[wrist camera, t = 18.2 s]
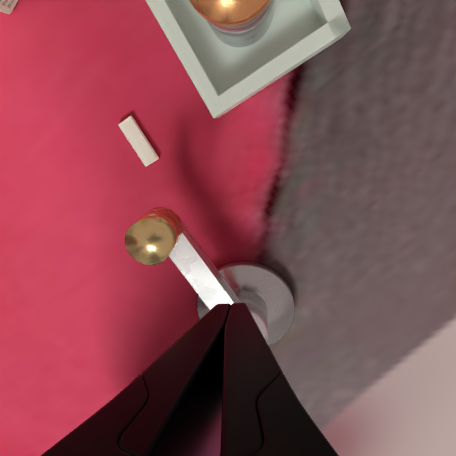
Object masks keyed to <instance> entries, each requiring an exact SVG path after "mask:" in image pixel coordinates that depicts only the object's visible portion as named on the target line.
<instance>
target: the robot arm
mask: <svg viewBox="0 0 456 456" xmlns="http://www.w3.org/2000/svg"><path fill="white" fill-rule="evenodd" d="M220 450H221V454H220ZM41 456H339V455H338V454H337V453H336V452H335V450H334V449H333V447H332V446H331V445H330V443H329V442H328V441H327V439H326V438H325V437H324V435H323V434H322V433H321V431H320V430H319V428H318V427H317V426H316V424H315V423H314V422H313V420H312V419H311V418H310V416H309V415H308V413H307V412H306V410H305V409H304V407H303V406H302V405H301V403H300V402H299V400H298V398H297V397H296V395H295V393H294V392H293V390H292V388H291V386H290V385H289V383H288V381H287V379H286V377H285V375H284V374H283V372H282V370H281V368H280V366H279V365H278V363H277V361H276V359H275V357H274V355H273V353H272V352H271V350H270V348H269V346H268V344H267V342H266V340H265V338H264V337H263V335H262V333H261V331H260V329H259V327H258V325H257V324H256V322H255V320H254V318H253V316H252V314H251V312H250V310H249V309H248V307H247V305H246V304H245V303H232V304H230V303H221V304H216V305H215V306H214V307H213V308H212V309H211V310H210V311H209V312H208V313H207V314H205V315H204V316H203V317H202V318H201V319H200V320H199V321H198V322H197V323H196V324H195V325H193V326H192V327H191V328H190V329H189V330H188V331H187V332H186V333H185V334H184V335H183V336H182V337H180V338H179V339H178V340H177V341H176V342H175V343H174V344H173V345H172V346H171V347H170V348H168V349H167V350H166V351H165V352H164V353H163V354H162V355H161V356H160V357H159V358H158V359H157V360H155V361H154V362H153V363H152V364H151V365H150V366H149V367H148V368H147V369H146V370H145V371H143V372H142V375H139V376H138V377H137V378H136V379H135V380H134V381H132V382H131V383H130V384H129V385H128V386H127V387H126V388H125V389H123V390H122V391H121V392H120V393H119V394H118V395H117V396H116V397H114V398H113V399H112V400H111V401H110V402H108V403H107V404H106V405H105V406H103V407H102V408H101V409H100V410H98V411H97V412H96V413H95V414H94V415H92V416H91V417H90V418H88V419H87V420H86V421H85V422H83V423H82V424H81V425H79V426H78V427H77V428H76V429H74V430H73V431H72V432H71V433H69V434H68V435H67V436H65V437H64V438H63V439H62V440H60V441H59V442H58V443H56V444H55V445H54V446H53V447H51V448H50V449H49V450H47V451H46V452H45V453H44V454H42V455H41Z"/></svg>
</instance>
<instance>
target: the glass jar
mask: <svg viewBox="0 0 456 456" xmlns="http://www.w3.org/2000/svg"><path fill="white" fill-rule="evenodd" d="M189 1H190V3H191V4H192V6H193V7H194V8H195V10H196V11H197V12H198V13H199V14H200V15H201V16H202V17H203V18H204V19H206V21H207V22H208V24H209V25H210V27H211V29H212V30H213V32H214V33H215V35H216V36H217V37H218V38H219V39H220V40H221V41H222V42H224V43H225V44H227V45H229V46H232V47H246V46H250V45H252V44H254V43H256V42H257V41H258V40H260V39H261V38H262V37H263V36H264V35H265V33H266V32H267V30H268V29H269V27H270V25H271V22H272V19H273V15H274V6H275V0H189Z"/></svg>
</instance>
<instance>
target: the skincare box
mask: <svg viewBox="0 0 456 456" xmlns="http://www.w3.org/2000/svg"><path fill="white" fill-rule="evenodd" d="M17 2H18V0H0V11H1V12H3V13H6V14H11V12H12V11H13V9H14V7H15V5H16V4H17Z"/></svg>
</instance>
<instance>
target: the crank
mask: <svg viewBox="0 0 456 456" xmlns="http://www.w3.org/2000/svg"><path fill="white" fill-rule="evenodd" d="M125 245H126V248H127V250H128V252H129V254H130V255H131V256H132V257H133V258H134V259H135V260H137V261H138V262H140V263H143V264H146V265H156V264H159V263H161V262H163V261H164V260H165V259H166V258H167V257H168V256H169V257H170V258H171V260H172V261H173V262H174V263H175V265H176V266H177V267H178V269H179V270H180V271H181V273H182V274H183V275H184V277H185V278H186V279H187V280H188V282H189V283H190V284H191V286H192V287H193V288H194V290H195V291H196V292H197V294H198V295H199V296H200V297H201V299H202V300H203V301H204V303H205V304H206V305H207V307H208V308H209V309H210V310H211V309H212V308H213V307H214V306H215V305H216V304H221V303H230V304H232V303H245V304H246V305H247V307H248V309H249V310H250V312H251V314H252V316H253V318H254V320H255V322H256V324H257V325H258V327H259V329H260V331H261V333H262V335H263V337H264V338H265V340H266V342H267V343H268V317H267V305H266V303H265V301H264V300H263V299H262V298H261V297H260V296H259V295H258V294H256V293H254V292H250V291H237V292H233V290H232V289H231V287H230V286H229V285H228V283H227V282H226V281H225V279H224V278H223V276H222V275H221V274H220V272H219V271H218V270H217V268H216V267H215V265H214V264H213V263H212V261H211V260H210V259H209V257H208V256H207V254H206V253H205V252H204V250H203V249H202V248H201V246H200V245H199V243H198V242H197V241H196V239H195V238H194V237H193V235H192V234H191V232H190V231H189V230H188V228H187V227H186V226H185V224H184V223H183V221H182V220H181V219H180V217H179V216H178V215H177V214H176V213H174V212H173V211H171V210H169V209H167V208H154V209H152V210H150V211H149V212H147V213H146V214H145V215H144V216H143V217H141V218H140V219H139V220H138V221H137V222H135V223H134V224H133V225H132V226H131V227H130V228H129V229H128V230H127V232H126V235H125Z"/></svg>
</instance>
